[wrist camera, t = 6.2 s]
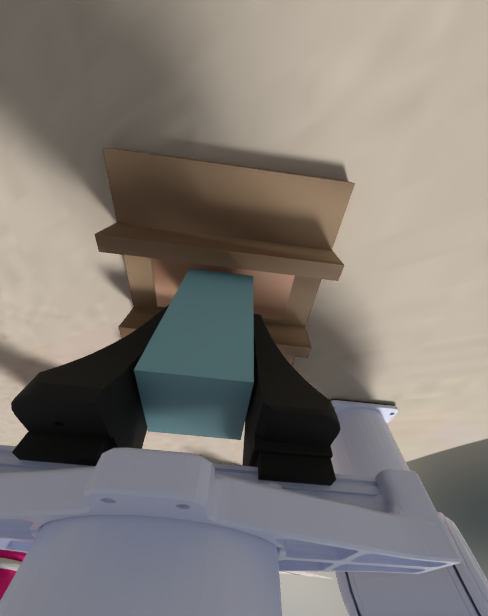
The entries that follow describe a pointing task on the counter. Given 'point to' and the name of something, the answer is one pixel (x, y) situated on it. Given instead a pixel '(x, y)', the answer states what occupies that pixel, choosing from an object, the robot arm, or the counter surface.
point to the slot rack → (224, 235)
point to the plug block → (201, 358)
